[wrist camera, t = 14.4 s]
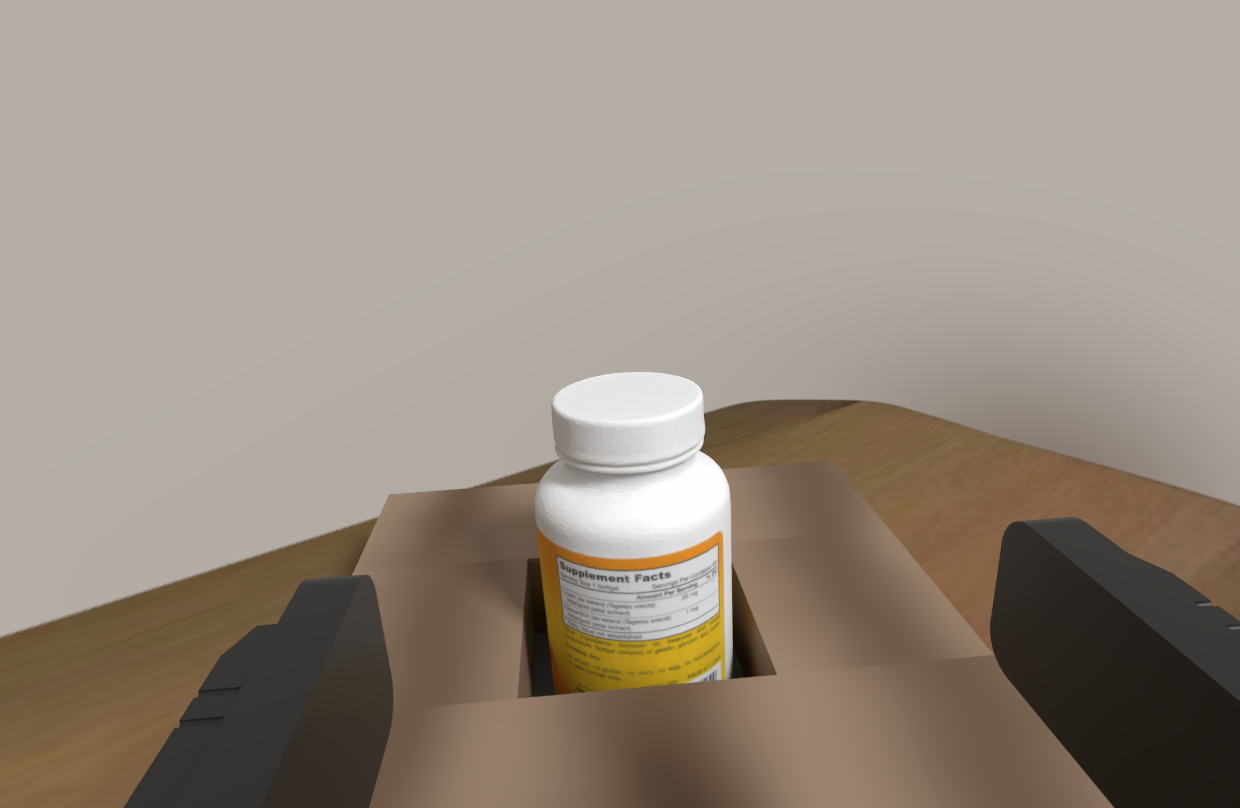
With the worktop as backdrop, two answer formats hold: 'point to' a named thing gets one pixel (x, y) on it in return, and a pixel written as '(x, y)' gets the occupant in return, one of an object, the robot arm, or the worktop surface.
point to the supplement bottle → (634, 538)
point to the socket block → (711, 710)
